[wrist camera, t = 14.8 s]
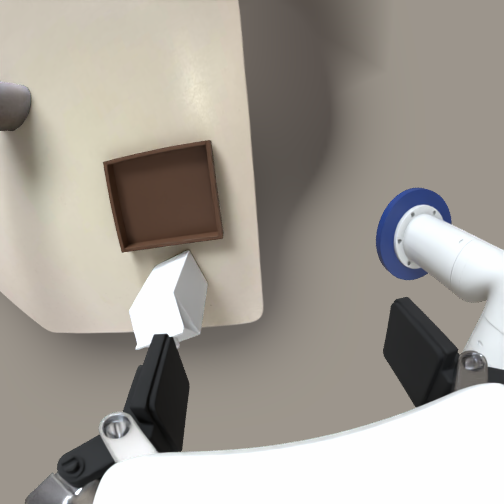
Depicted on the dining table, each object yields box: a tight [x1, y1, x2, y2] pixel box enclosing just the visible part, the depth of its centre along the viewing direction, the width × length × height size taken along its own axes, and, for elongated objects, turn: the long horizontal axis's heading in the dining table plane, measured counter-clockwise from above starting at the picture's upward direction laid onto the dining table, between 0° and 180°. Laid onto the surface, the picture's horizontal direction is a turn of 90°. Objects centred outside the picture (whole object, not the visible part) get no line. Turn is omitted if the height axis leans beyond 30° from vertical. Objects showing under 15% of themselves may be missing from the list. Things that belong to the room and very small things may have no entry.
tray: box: [103, 140, 223, 252], centre depth 43 cm, size 17×15×3 cm
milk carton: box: [129, 250, 208, 350], centre depth 40 cm, size 7×7×19 cm
